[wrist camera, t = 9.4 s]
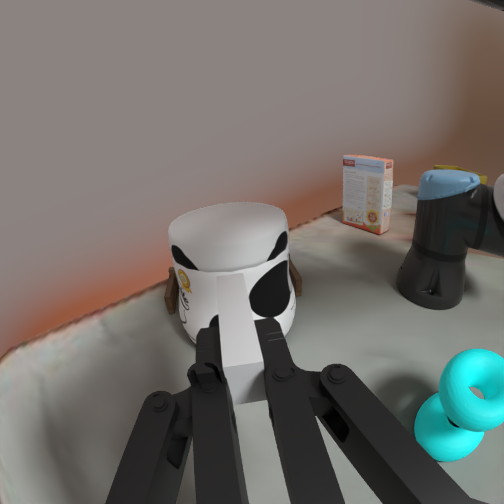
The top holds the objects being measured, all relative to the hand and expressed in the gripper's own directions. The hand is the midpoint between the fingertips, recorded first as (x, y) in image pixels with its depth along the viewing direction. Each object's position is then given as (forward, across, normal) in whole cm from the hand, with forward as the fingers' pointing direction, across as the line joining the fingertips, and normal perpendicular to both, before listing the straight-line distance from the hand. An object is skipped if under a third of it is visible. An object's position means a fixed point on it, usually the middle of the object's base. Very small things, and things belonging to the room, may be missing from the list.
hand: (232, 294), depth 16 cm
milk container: (+20, 0, -20) cm, 29 cm away
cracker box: (+54, +41, -21) cm, 71 cm away
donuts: (-7, +21, -20) cm, 30 cm away
